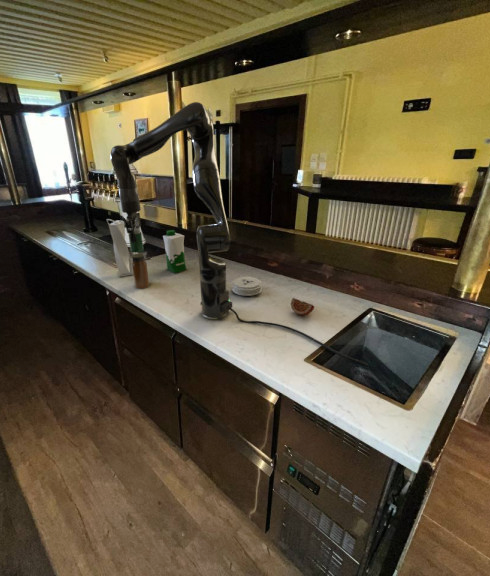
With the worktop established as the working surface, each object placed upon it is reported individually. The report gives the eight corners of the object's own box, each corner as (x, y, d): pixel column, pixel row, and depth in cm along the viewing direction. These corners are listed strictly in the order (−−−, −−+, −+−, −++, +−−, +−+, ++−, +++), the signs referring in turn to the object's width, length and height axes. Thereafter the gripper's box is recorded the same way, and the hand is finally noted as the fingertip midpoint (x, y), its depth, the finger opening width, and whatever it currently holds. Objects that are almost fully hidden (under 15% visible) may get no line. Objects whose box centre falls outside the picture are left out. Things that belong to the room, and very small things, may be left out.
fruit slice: (286, 311, 111) (287, 299, 109) (297, 305, 115) (298, 294, 113) (306, 320, 105) (307, 308, 103) (317, 314, 109) (318, 301, 106)
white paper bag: (117, 277, 148) (106, 221, 137) (116, 272, 155) (106, 217, 144) (134, 274, 151) (125, 218, 139) (132, 269, 158) (124, 215, 146)
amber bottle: (152, 284, 139) (148, 254, 133) (142, 289, 134) (137, 258, 128) (142, 281, 142) (138, 252, 136) (132, 286, 138) (127, 256, 132)
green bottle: (146, 250, 132) (143, 228, 128) (137, 253, 128) (133, 231, 124) (137, 248, 135) (134, 227, 131) (128, 251, 131) (125, 230, 127)
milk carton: (178, 265, 160) (175, 228, 152) (188, 269, 154) (186, 231, 146) (164, 270, 155) (160, 231, 147) (175, 274, 149) (171, 234, 140)
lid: (238, 283, 136) (238, 273, 134) (265, 287, 131) (266, 276, 129) (227, 294, 126) (227, 284, 124) (256, 299, 121) (256, 288, 118)
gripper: (126, 197, 129) (132, 235, 136) (114, 202, 116) (121, 245, 123) (143, 196, 128) (148, 235, 136) (133, 202, 115) (139, 244, 123)
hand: (135, 239), depth 129 cm, fingers closed on green bottle, 5 cm apart
